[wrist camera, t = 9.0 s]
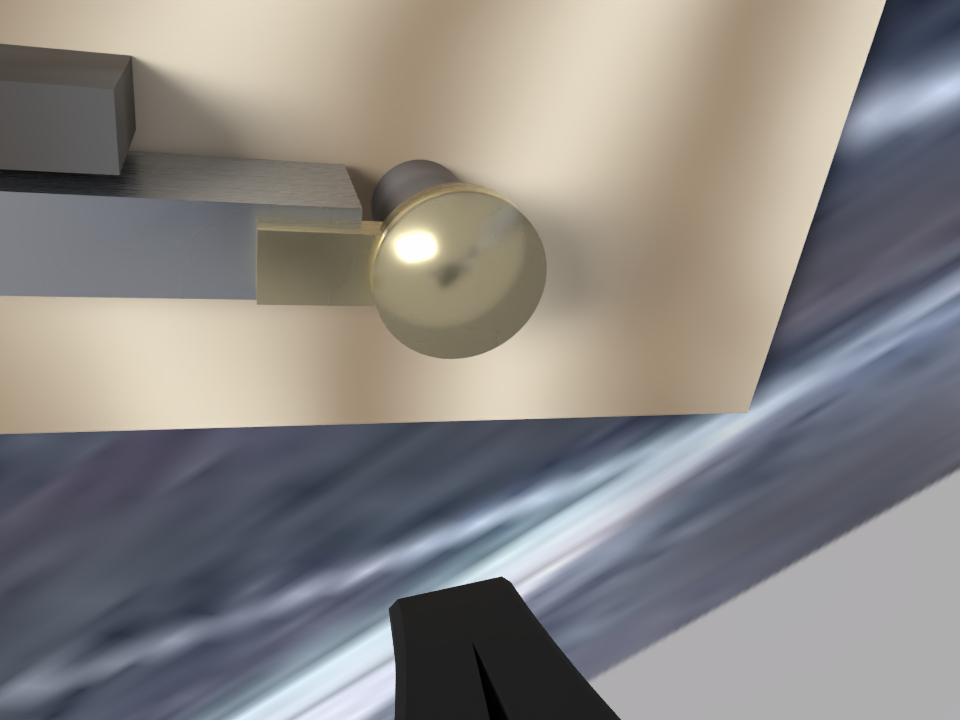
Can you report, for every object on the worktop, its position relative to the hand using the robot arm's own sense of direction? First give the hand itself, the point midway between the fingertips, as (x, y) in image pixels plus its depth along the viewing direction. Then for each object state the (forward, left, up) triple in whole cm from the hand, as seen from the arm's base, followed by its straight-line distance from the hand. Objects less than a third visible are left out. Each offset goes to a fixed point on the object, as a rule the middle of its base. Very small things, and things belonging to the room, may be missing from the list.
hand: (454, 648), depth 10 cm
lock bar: (+3, -2, -8) cm, 9 cm away
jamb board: (-1, -4, -9) cm, 10 cm away
